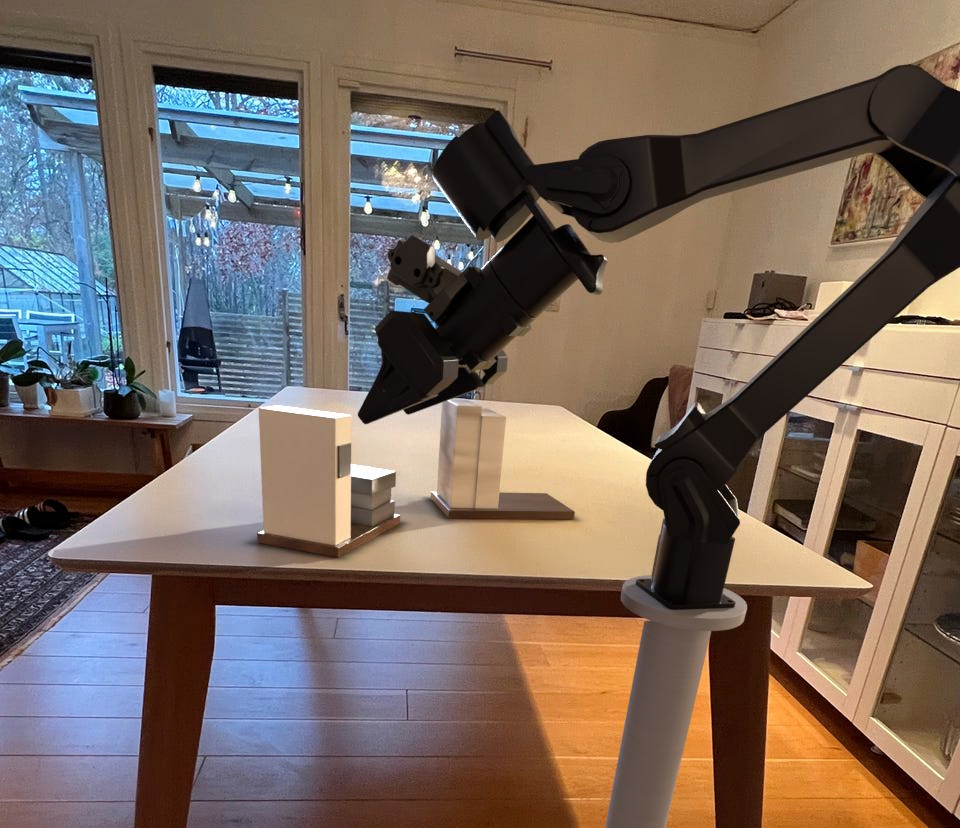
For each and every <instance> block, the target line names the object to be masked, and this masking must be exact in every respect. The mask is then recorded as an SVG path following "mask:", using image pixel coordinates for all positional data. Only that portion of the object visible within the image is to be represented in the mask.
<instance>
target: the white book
mask: <svg viewBox="0 0 960 828" xmlns="http://www.w3.org/2000/svg"><path fill="white" fill-rule="evenodd" d="M258 427H259V428H258V429H259V431H258V432H259V449H260V450H259V451H260V454H259V455H260V476H261V496H262V498H261V499H262V523H263V525H262V526H263V531H264V533H268V534H274V535H279V536H285V537H290V538H296V539H301V540H307V541H312V542H318V543H323V544H329V545H334V546H336V545H338V544H340V543H341V542H343V541H345V540H347V539H349V538H350V536H351V464H352V414H346V413H338V412H332V411H324V410H317V409H316V410H314V409H308V408H302V407H301V408H300V407H293V406H285V405H278V404H277V405H271V406H262V407H258Z"/></svg>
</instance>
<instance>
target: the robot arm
mask: <svg viewBox="0 0 960 828" xmlns="http://www.w3.org/2000/svg"><path fill="white" fill-rule="evenodd" d="M865 154H873V155H875V156H876V157H877V158H879V159H881V160H882V161H883V162H885V163H886V164H887V166H889V167H890V169H892V171H893V172H895V174H896V175H897V176H898V177H899V178H900V179H901V180H902V181H903V182H904V183H905V184H906V185H907V186H908V187H909V188H910V189H911V190H912V191H913V192H914V193H916V194H917V195H919V197H921V198H923V199H924V200H923V201H922V203H920V205H919V206H918V207H917V209H916V210H915V211H914V213H913V214H912V216H911V217H910V218H909V219H908V221H907V223H906V224H905V225H904V227H903V228H902V229H901V231H900V232H899V234H898V235H897V236H896V238H895V239H894V240H893V242H892V243H891V244H890V246H889V247H888V248H887V250H886V251H885V252H884V253H883V254H882V255H881V256H880V257H879V258H878V259H877V260H876V261H875V262H874V263H873V264H872V265H871V266H869V267H868V268H867V269H866V270H865V271H864V272H863V273H862V274H861V275H860V276H859V277H858V278H857V279H855V281H854V282H853V283H851V284H850V285H849V286H848V287H847V288H846V289H845V290H844V291H843V292H842V293H841V294H840V295H839V296H838V297H837V298H836V299H834V300H833V302H831V303H830V305H828V306H827V307H826V308H825V309H824V310H823V311H822V312H821V313H820V314H819V315H818V316H817V317H815V318H814V320H813V321H811V322H810V323H809V324H808V325H807V326H806V327H805V328H804V329H803V330H802V331H801V332H799V333H798V334H797V335H796V336H795V337H794V338H793V339H792V340H791V341H790V342H789V343H788V344H787V345H786V346H785V347H784V348H782V349H781V350H780V351H779V352H778V354H776V355H775V356H774V357H772V359H771V360H770V361H769V362H767V363H766V365H765V366H763V368H761V369H760V370H759V371H758V372H757V373H756V374H755V375H754V376H753V377H752V378H751V379H750V380H749V381H748V382H746V384H745V385H743V386H742V387H741V388H740V389H739V390H738V391H737V392H736V393H735V394H734V395H733V396H732V397H730V398H729V399H727V400H725V401H724V402H722V403H721V404H720V405H718V406H716V407H715V408H713V409H711V410H710V411H709V412H707V413H706V412H705V410H704V408H703V407H702V405H701V404H700V403H699V401H694V403H693V404H692V406H691V407H690V408H689V410H688V411H687V412H686V413H685V415H684V416H683V417H682V419H681V420H680V421H679V422H678V424H676V425H675V426H674V427H672V428H671V429H670V430H668V431H665V432H663V433H660V435H659V437H658V438H657V440H656V442H655V443H654V448H655V449H657V450H656V452H655V454H654V455H653V457H652V460H651V461H650V463H649V465H648V468H647V470H646V474H645V487H646V491H647V495H648V497H649V498H650V500H651V501H652V503H653V505H654V506H656V507H657V508H659V509H660V510H661V511H662V512H663V518H662V522H661V527H660V532H659V534H658V537H657V538H658V539H657V544H656V550H655V555H654V559H653V565H652V571H651V575H652V579H636V585H637V586H638V587H640V588H641V589H642V590H644V591H645V592H646V593H648V594H649V595H650V596H652V597H653V598H654V599H656V600H657V601H658V602H660V603H661V604H663V605H664V606H665V607H667V608H668V609H671V610H688V609H716V608H734V607H735V604H736V602H735V601H734V600H732V599H730V598H729V597H727V596H726V595H724V594H723V589H724V588H725V584H726V581H727V576H728V573H729V568H730V565H731V564H730V563H731V559H732V556H733V550H734V546H735V543H736V537H734V534H735V532H736V531H737V530H738V528H739V526H740V525H741V520H740V514H739V513H740V512H739V504H738V498H737V497H736V496H735V495H734V494H733V492H732V491H731V489H730V488H729V487H728V485H727V484H728V483H729V481H730V480H731V479H732V478H733V477H734V475H735V474H736V473H737V472H738V470H739V469H740V467H741V466H742V465H743V464H744V462H745V461H746V459H747V458H748V457H749V456H750V454H751V452H752V451H753V450H754V448H755V447H756V445H757V444H758V443H759V441H760V440H761V439H762V438H763V436H764V435H765V434H766V433H768V431H769V430H771V429H772V428H773V427H774V426H775V425H776V424H777V423H778V422H779V421H781V420H782V418H784V417H785V416H786V415H787V414H788V413H789V412H791V411H792V410H793V409H794V408H795V407H796V406H797V405H798V404H799V403H801V402H802V401H803V400H804V399H805V398H807V396H808V395H810V394H811V393H812V392H813V391H814V390H815V389H817V388H818V387H819V386H820V385H821V384H822V383H823V382H825V380H827V378H829V377H830V376H831V375H832V374H833V373H834V372H836V371H837V369H839V368H840V367H841V366H842V365H843V364H844V363H846V362H847V361H848V360H849V359H850V358H851V357H852V356H854V354H856V353H857V352H858V351H859V350H861V348H863V346H865V345H866V344H867V343H868V342H869V341H870V340H871V339H872V338H874V337H875V336H876V335H877V334H878V333H879V332H880V331H882V330H883V329H884V328H885V327H886V326H888V325H889V323H891V321H893V320H894V319H895V318H897V316H898V315H899V314H901V313H902V312H903V311H904V310H905V309H906V308H907V307H908V306H910V304H912V303H913V302H914V301H915V300H916V299H917V298H918V297H920V296H921V295H923V293H924V292H925V291H927V289H929V288H931V286H933V285H934V284H935V283H937V282H939V281H940V280H942V279H943V278H945V277H947V276H948V275H950V274H952V273H953V272H955V271H956V270H958V269H959V268H960V90H958V89H956V88H953V87H951V86H948V85H946V84H945V83H944V82H942V81H941V80H939V79H938V78H936V77H935V76H934V75H932V74H931V73H929V72H927V70H925V69H924V68H923V67H921V66H919V65H915V64H912V63H907V64H906V63H905V64H900V65H896V66H894V67H891V68H889V69H887V70H885V72H883V73H881V74H879V75H877V76H875V77H872V78H869V79H866V80H863V81H859V82H856V83H853V84H850V85H847V86H844V87H843V86H842V87H840V88H838V89H834V90H831V91H828V92H824V93H821V94H819V95H818V94H817V95H814V96H811V97H808V98H805V99H801V100H798V101H795V102H793V103H789V104H787V105H783V106H780V107H777V108H774V109H770V110H767V111H764V112H762V113H758V114H755V115H751V116H748V117H745V118H742V119H739V120H736V121H733V122H731V123H726V124H723V125H720V126H717V127H714V128H711V129H707V130H705V131H701V132H697V133H696V132H695V133H690V134H689V133H688V134H678V135H677V134H675V135H674V134H644V135H635V136H628V137H626V136H625V137H617V138H610V139H604V140H600V141H597V142H595V143H593V144H591V145H590V146H588V147H587V148H586V149H584V150H583V151H582V152H581V153H580V154H579V156H578V158H575V159H568V160H561V161H551V162H544V163H537V164H536V163H535V162H534V160H533V159H532V158H531V157H530V155H529V154H528V151H526V150H525V148H524V146H523V145H522V144H521V142H520V140H519V139H518V135H517V133H516V131H515V129H514V127H513V126H512V125H511V123H510V122H509V120H508V119H507V118H506V116H505V115H504V114H503V113H502V112H501V111H500V110H499V109H497V110H494V111H493V112H492V113H491V114H490V116H489V117H488V118H487V119H486V120H485V121H481V122H478V123H476V124H474V125H471V126H470V127H469V128H468V129H467V130H464V132H462V133H461V134H460V135H459V136H458V135H455V136H454V137H453V138H452V139H451V140H450V141H449V142H448V143H447V145H446V146H445V147H444V149H443V150H442V151H441V152H440V154H439V156H438V158H437V159H436V161H435V164H434V166H433V169H432V179H433V181H434V182H435V184H436V185H437V187H438V188H439V190H440V191H441V192H442V193H443V195H444V196H445V198H446V199H447V200H448V202H449V203H450V204H451V206H452V207H453V209H454V210H455V211H456V213H457V214H458V215H459V217H460V218H461V219H462V221H463V222H464V224H465V225H466V227H467V228H468V229H469V230H470V232H471V234H473V236H474V238H475V239H476V240H477V241H484V240H488V239H489V238H492V240H493V241H494V242H495V243H501V242H503V241H505V240H507V239H508V238H509V237H510V236H512V235H513V236H512V237H511V238H510V239H508V241H506V242H505V244H504V245H503V246H502V247H501V248H500V249H499V250H498V251H497V252H496V253H495V254H493V256H492V257H491V258H490V259H489V260H488V261H487V262H486V263H485V264H484V265H483V266H482V267H477V266H475V265H473V266H467V267H466V268H465V269H463V271H461V270H460V269H458V268H457V267H455V266H454V265H452V264H450V263H449V262H448V261H445V260H444V259H443V258H442V257H440V256H438V255H437V254H436V247H435V246H434V245H432V244H430V243H427V242H426V241H424V240H423V238H422V237H420V236H418V235H415V234H411V235H410V236H409V237H407V238H406V239H398V241H397V244H396V246H395V247H394V248H390V249H389V250H388V251H387V259H388V260H389V262H390V263H389V269H388V271H387V274H386V280H388V281H389V282H390V283H392V284H393V285H395V286H397V287H399V286H401V287H403V289H405V290H406V291H408V292H410V293H411V294H413V295H414V296H416V297H418V298H419V299H420V300H422V301H423V302H426V303H427V305H426V306H425V307H424V308H423V311H424V312H425V313H423V312H412V311H401V310H392V309H391V310H390V311H389V312H387V314H386V315H385V316H384V317H383V318H382V319H381V321H379V323H378V324H377V325H375V327H374V331H375V335H376V336H377V337H376V343H377V345H378V347H379V348H380V353H381V365H380V367H379V370H378V371H377V375H376V376H375V379H374V381H373V383H372V385H371V386H370V388H369V390H368V392H367V395H366V396H365V398H364V400H363V402H362V404H361V406H360V408H359V410H358V411H357V417H358V419H359V420H360V421H361V422H362V423H363V425H369V424H371V423H374V422H377V421H379V420H382V419H384V418H386V417H389V416H391V415H393V414H397V413H399V412H402V411H403V412H404V414H405V415H407V416H410V415H412V414H415V413H418V412H421V411H423V410H426V409H429V408H431V407H434V406H436V405H437V406H438V405H439V404H442V402H445V401H448V400H451V399H453V398H459V397H463V396H464V395H467V394H470V393H472V392H475V391H478V390H482V389H484V388H485V387H486V386H487V385H493V384H494V383H495V382H496V381H498V380H499V379H500V378H501V377H502V376H503V375H504V374H505V373H506V372H507V369H508V359H509V356H508V355H507V353H506V352H505V351H504V349H505V348H506V347H507V346H508V345H509V344H510V343H511V342H512V341H513V340H515V339H516V338H517V337H525V336H526V335H527V334H528V333H529V332H530V331H531V330H532V329H533V327H532V325H531V324H532V323H533V322H534V321H536V319H537V318H538V317H539V316H541V314H542V313H544V312H545V311H546V310H547V309H548V308H549V307H550V306H551V305H553V303H555V301H557V300H558V299H559V298H560V297H561V296H562V295H563V294H564V293H565V292H566V291H568V289H569V288H571V286H572V285H574V284H575V283H576V282H577V281H578V280H579V282H580V283H581V285H582V286H583V288H584V289H585V290H586V292H588V294H592V295H595V296H599V295H601V294H602V293H603V289H604V287H603V286H604V285H603V284H604V274H605V270H606V267H607V264H608V261H609V260H608V257H607V256H605V255H603V254H602V253H599V254H591V252H590V251H589V250H588V247H586V245H585V244H584V242H583V241H582V239H581V238H580V237H579V235H578V234H577V232H576V231H575V229H574V228H573V227H572V225H571V224H569V223H568V224H567V223H566V224H563V225H560V226H558V227H556V226H555V225H554V223H553V222H552V221H551V219H550V218H549V216H548V215H547V214H546V212H545V211H544V210H543V208H542V207H541V206H540V204H539V202H538V200H539V199H540V198H541V199H543V200H544V201H545V202H546V203H547V204H549V205H550V206H551V207H552V208H553V209H555V210H556V211H557V212H558V213H560V214H561V215H564V216H567V217H571V218H574V219H575V221H576V222H577V224H578V225H579V226H581V227H582V228H583V229H584V230H585V231H587V233H589V234H590V235H591V236H593V237H594V238H596V239H597V240H598V241H601V242H602V243H603V242H604V243H608V244H613V243H614V244H615V243H620V242H625V241H626V240H628V239H632V238H633V237H635V236H637V235H639V234H641V233H644V232H645V231H648V230H650V229H652V228H654V227H655V226H658V225H660V224H662V223H664V222H666V221H667V220H669V219H671V218H672V217H674V216H676V215H677V214H679V213H681V212H682V211H684V210H686V209H689V207H691V206H695V205H696V204H698V203H700V202H702V201H705V200H707V199H711V198H714V197H718V196H721V195H725V194H727V193H731V192H736V191H739V190H742V189H743V190H744V189H745V188H750V187H753V186H756V185H759V184H762V183H767V182H770V181H774V180H778V179H781V178H785V177H788V176H792V175H795V174H798V173H803V172H806V171H809V170H814V169H816V168H817V169H818V168H819V167H823V166H826V165H831V164H834V163H837V162H840V161H844V160H848V159H851V158H855V157H859V156H861V155H865ZM531 215H532V217H530V216H531ZM529 217H530V218H529ZM528 218H529V219H528ZM527 219H528V220H527ZM526 220H527V221H526ZM522 225H523V226H522ZM521 226H522V227H521ZM516 231H517V232H516ZM432 322H433V323H434V324H435V325H436V326H437V327H436V328H435V326H434V325H433V323H432ZM480 371H482V372H483V373H484V375H483V377H482V378H481V376H480V375H479V374H478V373H479V372H480Z"/></svg>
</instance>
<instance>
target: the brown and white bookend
mask: <svg viewBox="0 0 960 828" xmlns="http://www.w3.org/2000/svg"><path fill="white" fill-rule="evenodd" d="M440 416H441V417H440V430H439V431H440V432H439V434H440V435H439V447H438V464H437V465H438V466H437V469H438V470H437V482H436V483H437V484H436V490H432V491H431V490H430V500H431V501H432V502H433V503H434V504H435V505H436V506H437V507H438V508H439V509H440V510H441V512H442V513H443V514H444V515H445V516H446V517H447V518H448V519H475V520H477V519H480V520H481V519H485V520H491V519H493V520H498V519H500V520H575V515H576V511H575V510H573V509H571V508H570V507H569V506H567V505H565V504H564V503H563V502H561V501H559V500H558V499H556V498H555V497H554V496H552V495H550V494H548V493H547V492H502V491H500V490H501V479H502V467H503V458H504V457H503V456H504V447H505V435H506V425H507V416H505V415H503V414H501V413H498V412H496V411H494V410H492V409H490V408H488V407H483V406H481V405H480V404H477V403H475V402H473V401H471V400H468V399H467V398H459V397H456V398H453V399H451V400H448V401H445V402H442V403H441V414H440Z"/></svg>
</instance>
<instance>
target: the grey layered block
mask: <svg viewBox="0 0 960 828" xmlns="http://www.w3.org/2000/svg"><path fill="white" fill-rule="evenodd" d="M396 483H397V471H396V470H389V469H383V468H377V467H371V466H366V465H358V464H352V463H351V536H350V538H349V539H347V540H345V541H343V542H341V543H340V544H338V545H336V546H334V545H329V544H323V543H318V542H312V541H307V540H301V539H296V538H290V537H285V536H279V535H274V534H268V533H264V530H261V531H259V532H257V533H256V537H257V538H256V541H257V543H258V544H263V545H268V546H275V547H279V548H285V549H290V550H295V551H301V552H307V553H312V554H317V555H323V556H328V557H333V558H339V557H341V556H343V555H345V554H347V553H349V552H350V551H352V550H354V549H356V548H357V547H359V546H361V545H363V544H365V543H367V542H368V541H370V540H373V539H374V538H375V537H377V536H379V535H381V534H383V533H385V532H387V531H389V530H391V529H392V528H394V527H396V526H398V525H399V524H401V514H397V513H395V509H396V507H395V506H396V500H395V499H394V500H393V499H392V489H393V488H396Z"/></svg>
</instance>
